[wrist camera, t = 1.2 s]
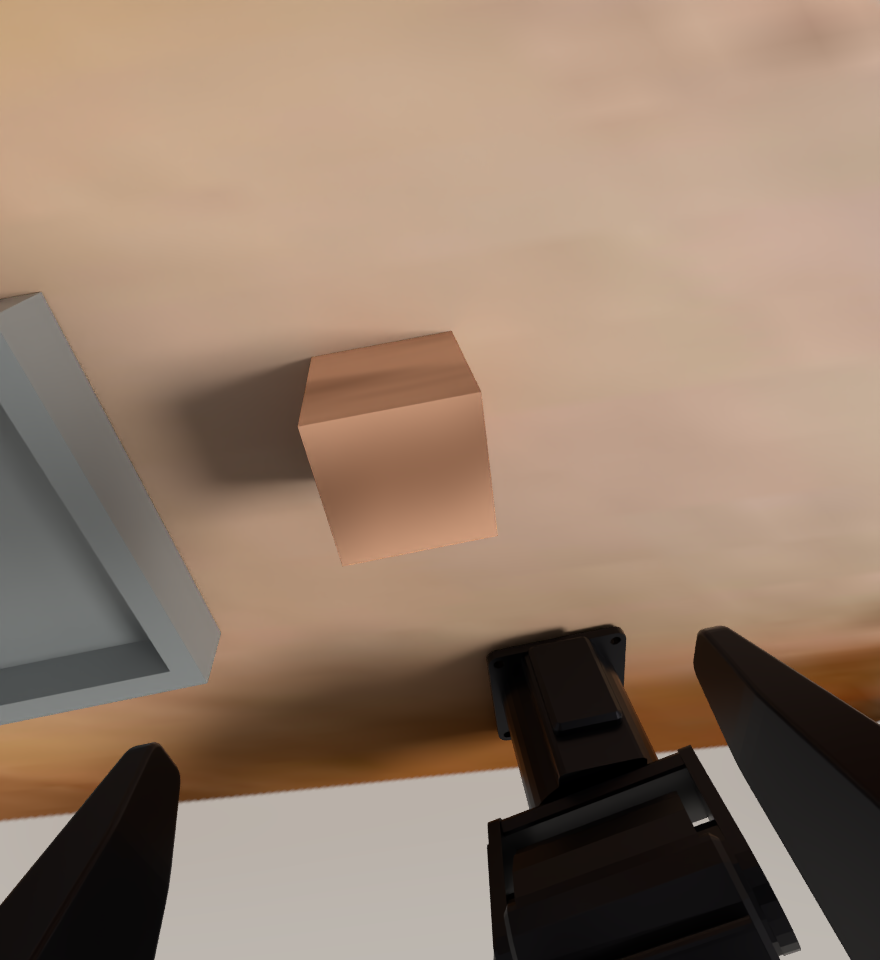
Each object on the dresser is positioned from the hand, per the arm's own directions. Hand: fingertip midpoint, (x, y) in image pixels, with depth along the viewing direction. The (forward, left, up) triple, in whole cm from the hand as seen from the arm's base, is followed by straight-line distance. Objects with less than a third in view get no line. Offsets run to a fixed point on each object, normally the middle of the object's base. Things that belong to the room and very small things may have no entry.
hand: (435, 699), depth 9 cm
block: (0, 0, -12) cm, 12 cm away
